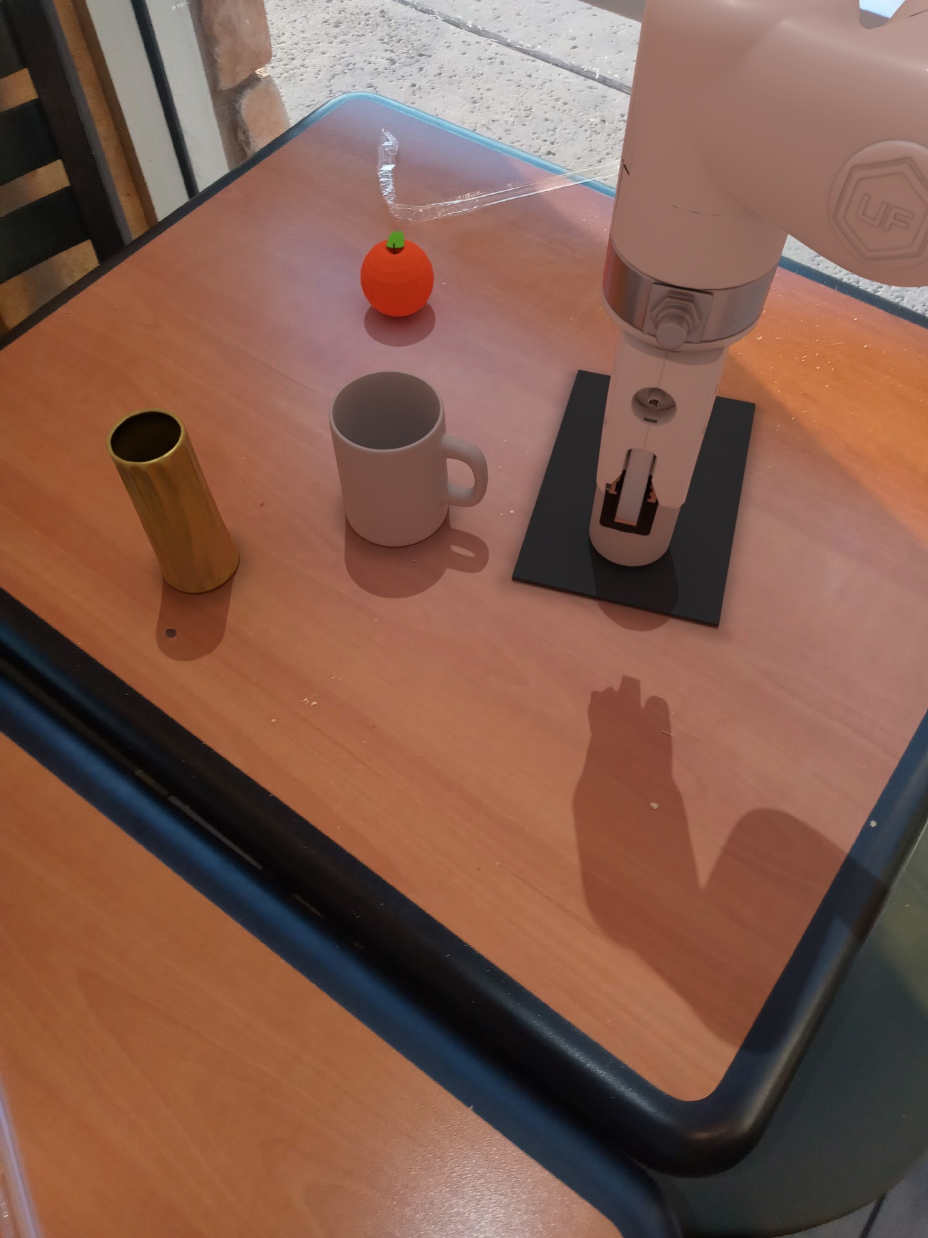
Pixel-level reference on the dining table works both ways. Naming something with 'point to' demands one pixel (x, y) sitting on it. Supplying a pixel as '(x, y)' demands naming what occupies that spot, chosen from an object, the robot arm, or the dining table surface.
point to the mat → (700, 537)
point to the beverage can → (632, 537)
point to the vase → (172, 499)
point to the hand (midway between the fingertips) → (626, 521)
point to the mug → (398, 458)
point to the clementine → (397, 276)
